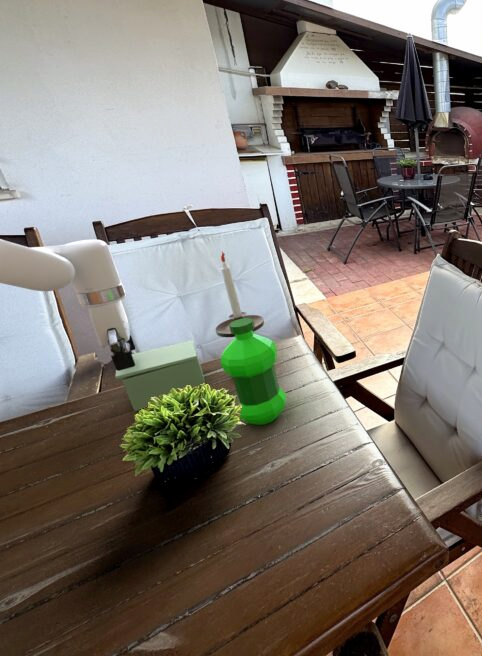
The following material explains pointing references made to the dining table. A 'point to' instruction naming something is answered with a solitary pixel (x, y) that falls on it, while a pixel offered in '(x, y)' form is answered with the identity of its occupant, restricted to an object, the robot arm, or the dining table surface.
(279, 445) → the dining table surface
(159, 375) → the chest
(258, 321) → the candlestick
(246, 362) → the plastic bottle
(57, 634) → the dining table surface
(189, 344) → the lid
